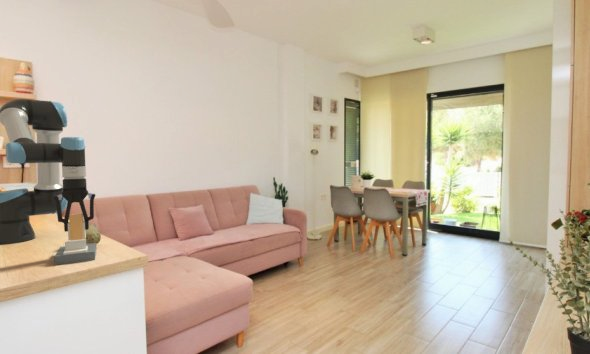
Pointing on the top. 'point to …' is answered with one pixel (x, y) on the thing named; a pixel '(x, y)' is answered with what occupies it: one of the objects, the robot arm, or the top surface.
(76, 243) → the white stepped block
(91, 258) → the socket board
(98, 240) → the coral
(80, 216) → the tall wooden block
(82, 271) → the top surface
